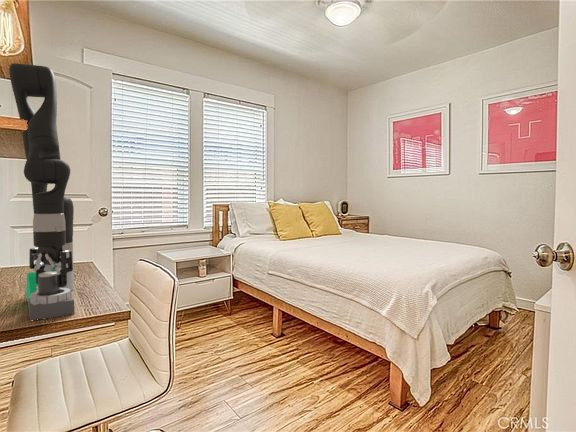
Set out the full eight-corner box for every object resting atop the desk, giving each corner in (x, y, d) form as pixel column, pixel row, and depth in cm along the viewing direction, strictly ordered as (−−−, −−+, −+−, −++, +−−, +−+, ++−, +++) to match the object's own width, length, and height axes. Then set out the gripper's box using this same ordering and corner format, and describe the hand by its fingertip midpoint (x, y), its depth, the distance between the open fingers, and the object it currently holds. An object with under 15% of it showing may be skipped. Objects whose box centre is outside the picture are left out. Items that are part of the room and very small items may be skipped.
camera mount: (62, 305, 103) (61, 272, 103) (31, 311, 98) (30, 276, 97) (55, 296, 112) (54, 266, 111) (26, 301, 107) (25, 269, 106)
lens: (34, 300, 94) (33, 274, 94) (52, 296, 99) (52, 270, 98) (46, 303, 92) (45, 276, 92) (64, 298, 97) (63, 272, 96)
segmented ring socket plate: (28, 311, 97) (27, 291, 96) (69, 305, 103) (68, 285, 103) (30, 321, 89) (29, 299, 89) (74, 313, 95) (73, 293, 95)
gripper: (18, 229, 94) (20, 286, 94) (54, 231, 89) (56, 291, 90) (45, 227, 101) (47, 280, 102) (80, 229, 96) (81, 284, 97)
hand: (51, 285), depth 96 cm, fingers open, 8 cm apart
